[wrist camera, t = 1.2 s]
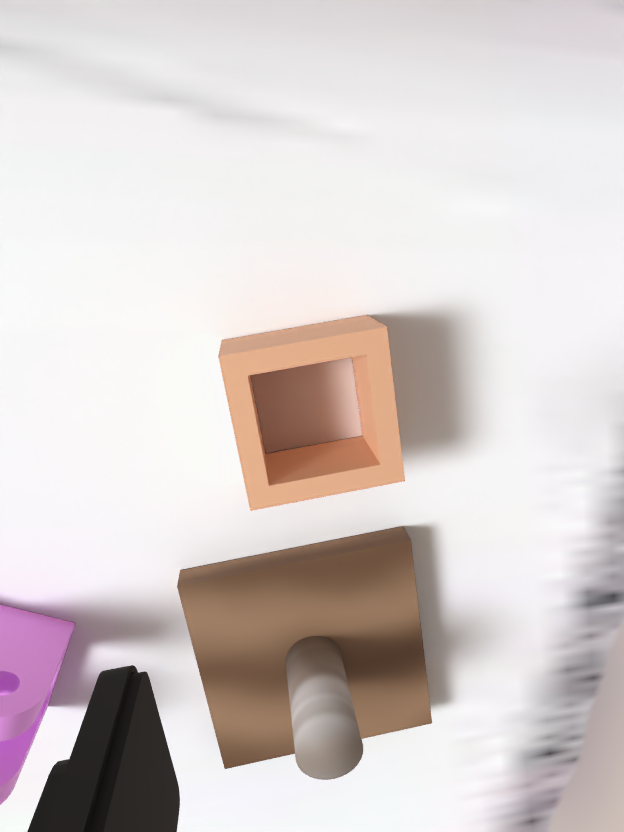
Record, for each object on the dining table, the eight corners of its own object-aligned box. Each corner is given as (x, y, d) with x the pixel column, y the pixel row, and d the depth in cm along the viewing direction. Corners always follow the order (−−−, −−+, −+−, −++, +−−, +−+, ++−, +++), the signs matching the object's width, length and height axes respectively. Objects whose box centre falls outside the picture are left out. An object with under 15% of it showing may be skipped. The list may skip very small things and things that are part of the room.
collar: (221, 340, 27) (218, 356, 24) (367, 314, 28) (387, 326, 24) (249, 475, 30) (250, 510, 26) (384, 450, 30) (404, 480, 26)
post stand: (180, 570, 31) (161, 670, 23) (402, 526, 31) (450, 610, 24) (225, 746, 34) (221, 880, 27) (424, 703, 35) (471, 822, 28)
